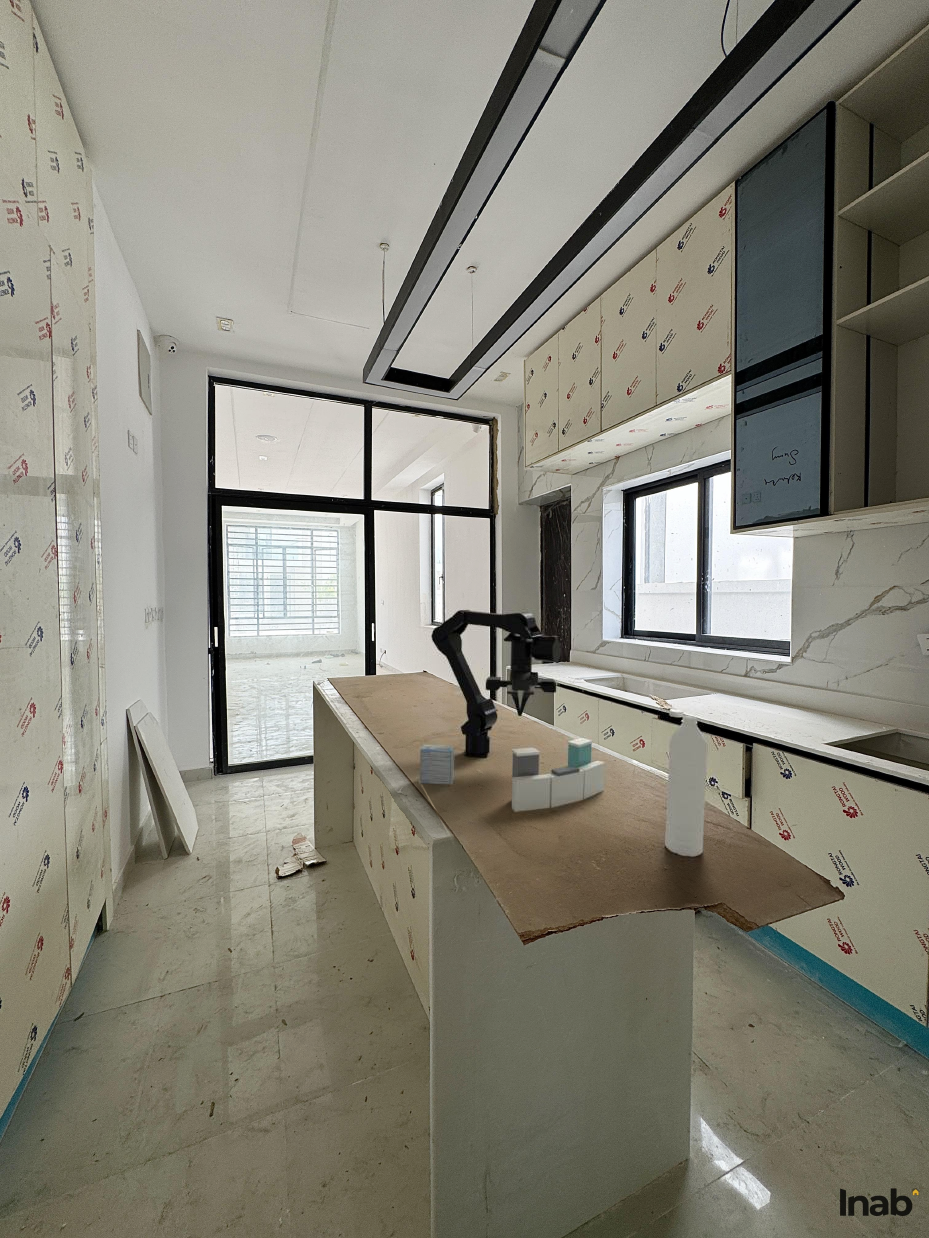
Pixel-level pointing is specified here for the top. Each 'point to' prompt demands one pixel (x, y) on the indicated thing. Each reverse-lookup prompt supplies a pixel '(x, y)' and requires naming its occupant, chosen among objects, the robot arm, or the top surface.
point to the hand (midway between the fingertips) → (519, 715)
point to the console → (557, 787)
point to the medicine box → (437, 764)
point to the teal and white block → (579, 752)
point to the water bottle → (686, 788)
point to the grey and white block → (525, 762)
